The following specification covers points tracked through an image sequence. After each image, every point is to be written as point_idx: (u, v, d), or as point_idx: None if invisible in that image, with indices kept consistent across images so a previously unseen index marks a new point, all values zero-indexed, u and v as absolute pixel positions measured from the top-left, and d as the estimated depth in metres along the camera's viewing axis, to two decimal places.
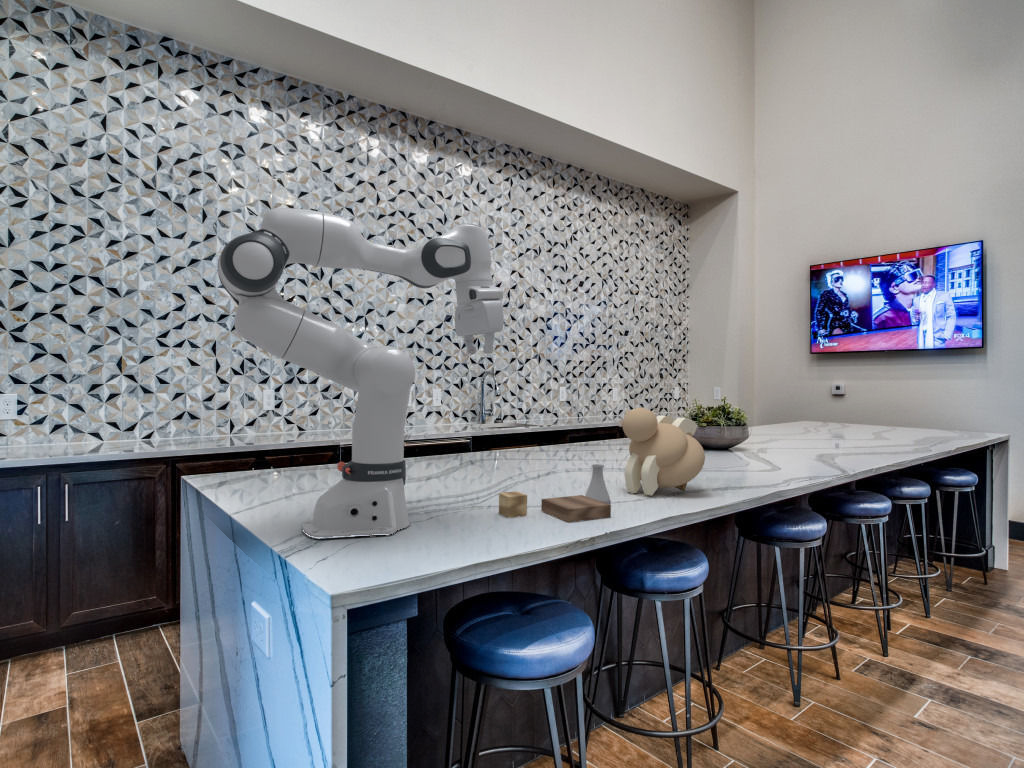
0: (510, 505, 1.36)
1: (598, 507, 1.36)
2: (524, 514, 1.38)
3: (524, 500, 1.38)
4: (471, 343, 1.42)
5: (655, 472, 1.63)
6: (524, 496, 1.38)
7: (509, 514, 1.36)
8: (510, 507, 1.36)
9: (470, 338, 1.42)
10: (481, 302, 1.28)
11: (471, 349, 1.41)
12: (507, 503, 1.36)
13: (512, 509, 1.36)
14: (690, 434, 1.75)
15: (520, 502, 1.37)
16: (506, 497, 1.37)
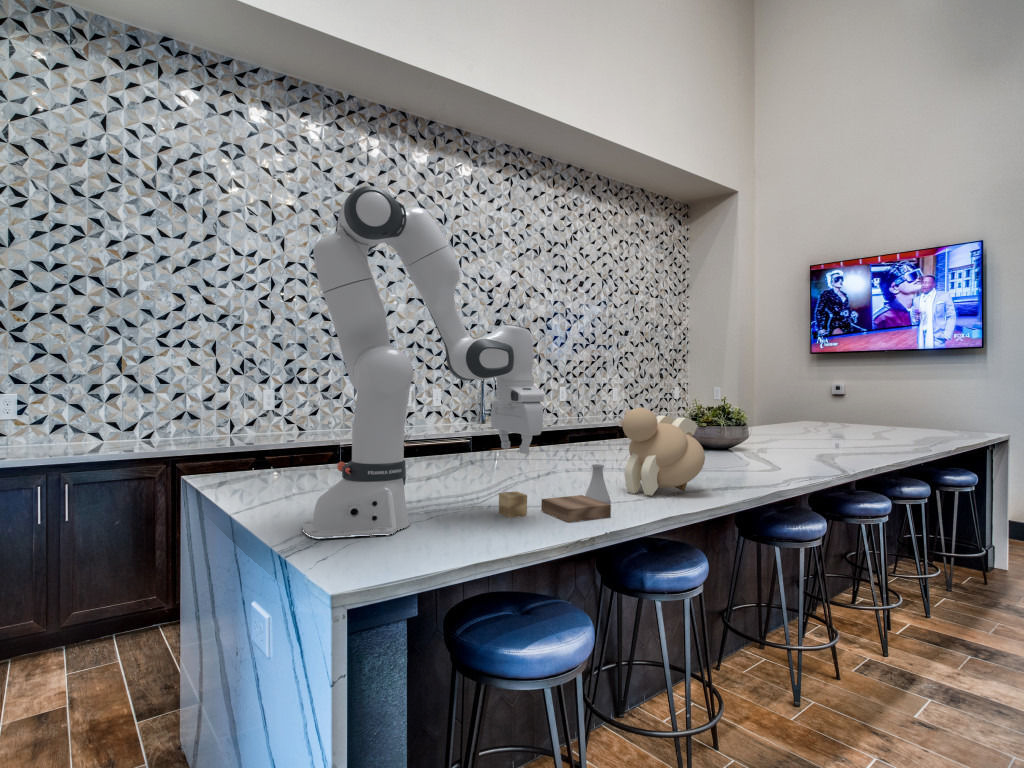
0: (510, 505, 1.36)
1: (598, 507, 1.36)
2: (524, 514, 1.38)
3: (524, 500, 1.38)
4: (506, 437, 1.44)
5: (655, 472, 1.63)
6: (524, 496, 1.38)
7: (509, 514, 1.36)
8: (510, 507, 1.36)
9: (505, 432, 1.44)
10: (522, 405, 1.30)
11: (506, 444, 1.43)
12: (507, 503, 1.36)
13: (512, 509, 1.36)
14: (690, 434, 1.75)
15: (520, 502, 1.37)
16: (506, 497, 1.37)
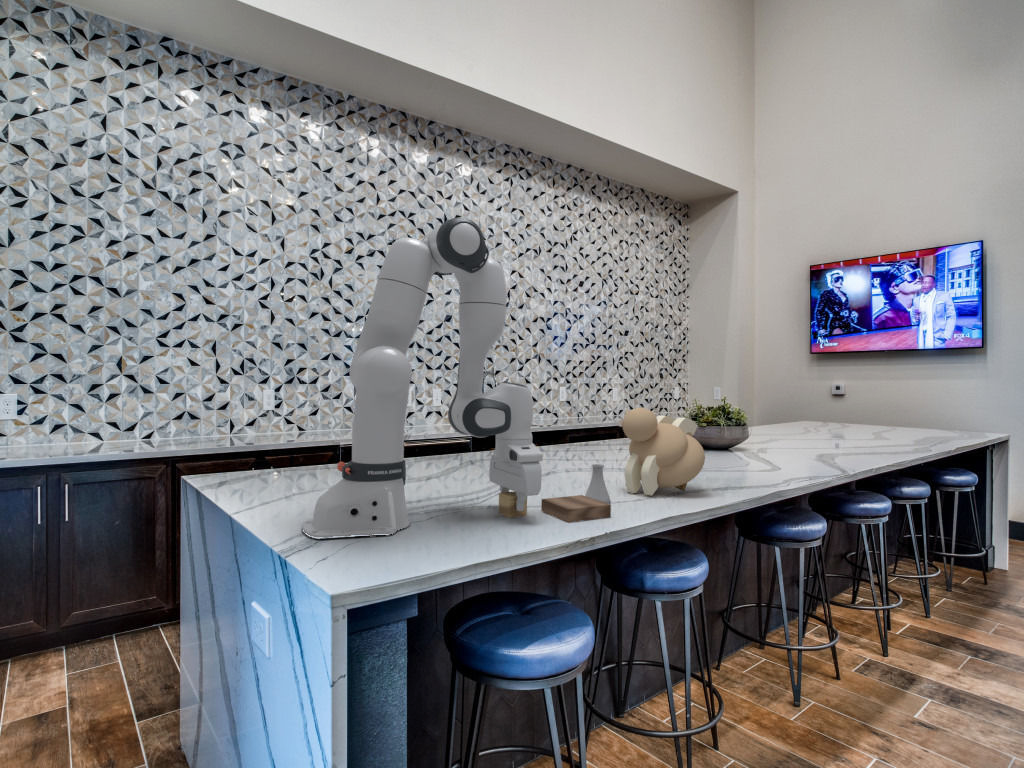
0: (510, 505, 1.36)
1: (598, 507, 1.36)
2: (524, 514, 1.38)
3: None
4: None
5: (655, 472, 1.63)
6: None
7: (509, 514, 1.36)
8: (510, 506, 1.36)
9: (506, 488, 1.43)
10: (521, 466, 1.31)
11: None
12: (507, 503, 1.36)
13: (512, 509, 1.36)
14: (690, 434, 1.75)
15: None
16: (506, 497, 1.37)
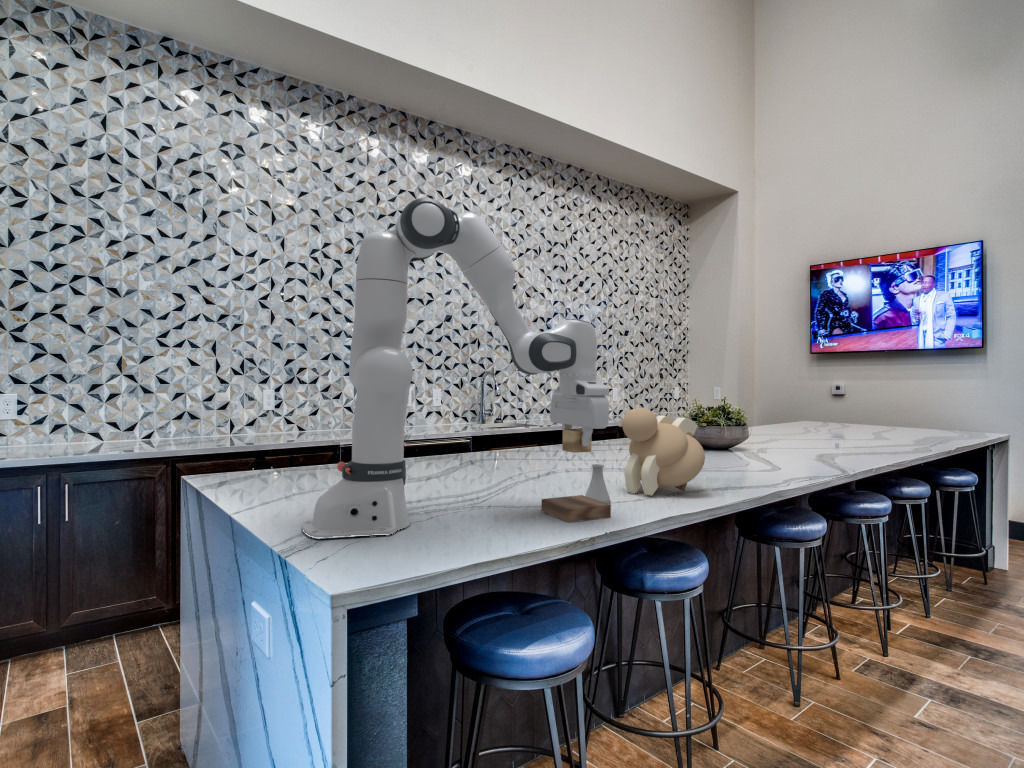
0: (576, 439, 1.37)
1: (598, 507, 1.36)
2: (589, 450, 1.39)
3: None
4: None
5: (655, 472, 1.63)
6: None
7: (574, 449, 1.37)
8: (575, 441, 1.37)
9: (569, 427, 1.44)
10: (589, 399, 1.32)
11: None
12: (573, 438, 1.37)
13: (577, 444, 1.37)
14: (690, 434, 1.75)
15: None
16: (571, 432, 1.38)
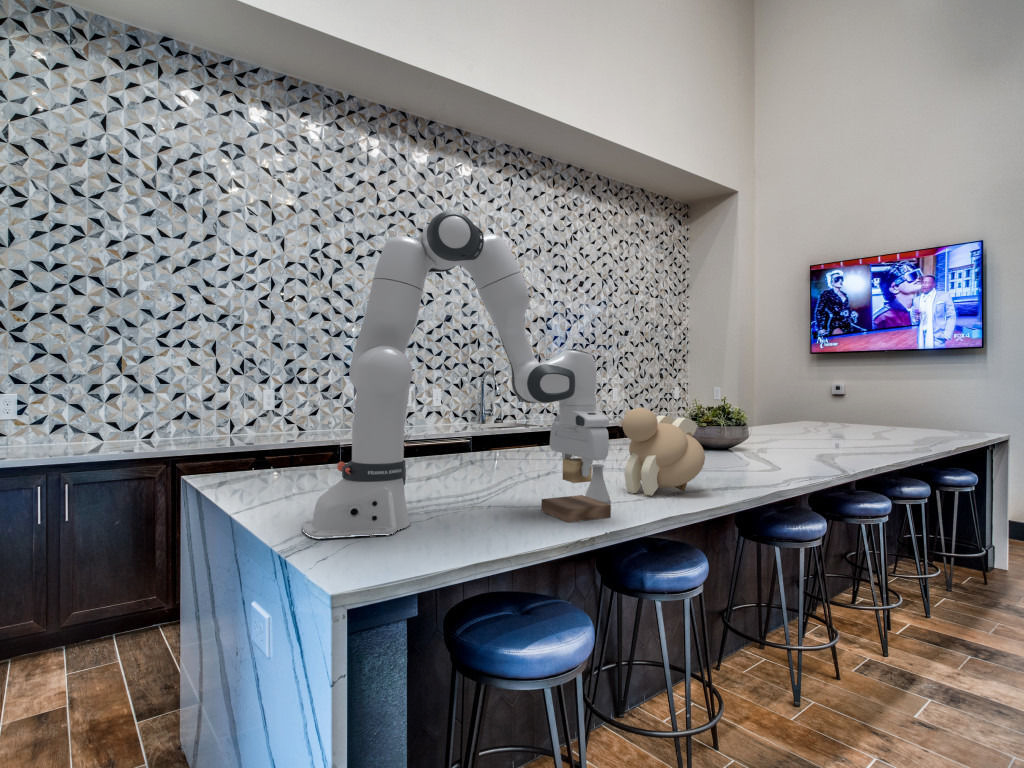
0: (576, 470, 1.37)
1: (598, 507, 1.36)
2: (589, 479, 1.39)
3: None
4: None
5: (655, 472, 1.63)
6: None
7: (574, 479, 1.37)
8: (575, 472, 1.37)
9: (569, 456, 1.44)
10: (589, 430, 1.32)
11: None
12: (573, 468, 1.38)
13: (577, 474, 1.38)
14: (690, 434, 1.75)
15: None
16: (571, 462, 1.38)
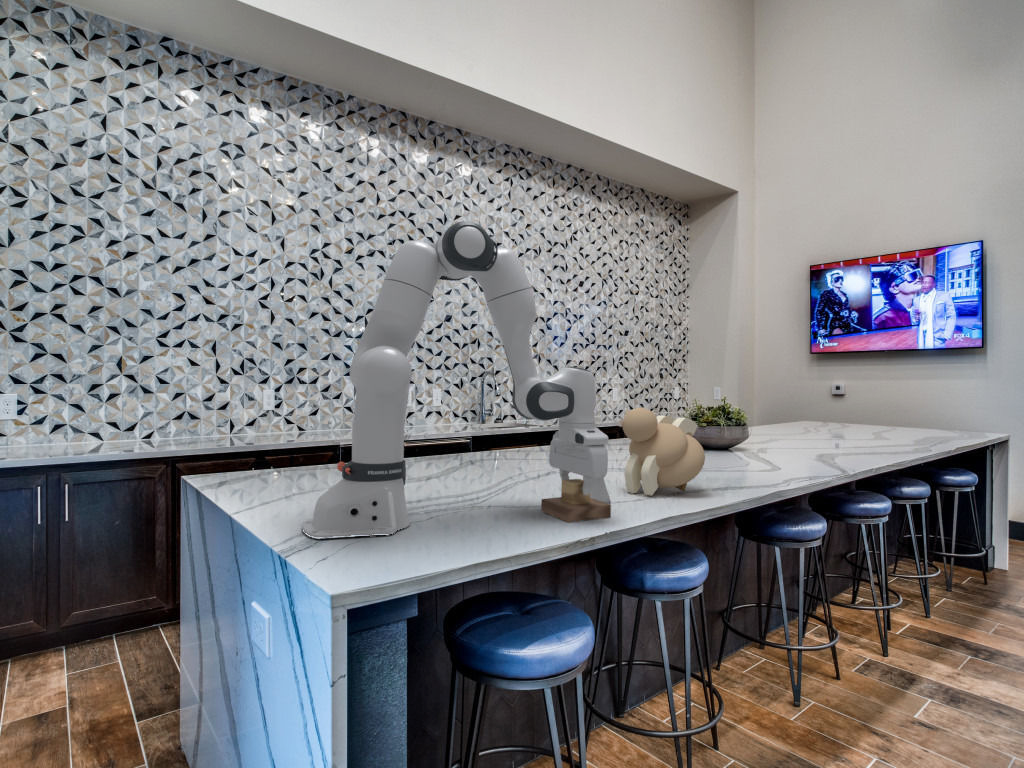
0: (575, 491, 1.37)
1: (598, 507, 1.36)
2: (587, 501, 1.39)
3: None
4: (566, 477, 1.45)
5: (655, 472, 1.63)
6: None
7: (573, 501, 1.37)
8: (574, 493, 1.37)
9: (566, 472, 1.44)
10: (588, 448, 1.32)
11: None
12: (571, 490, 1.38)
13: (576, 496, 1.38)
14: (690, 434, 1.75)
15: None
16: (570, 484, 1.38)
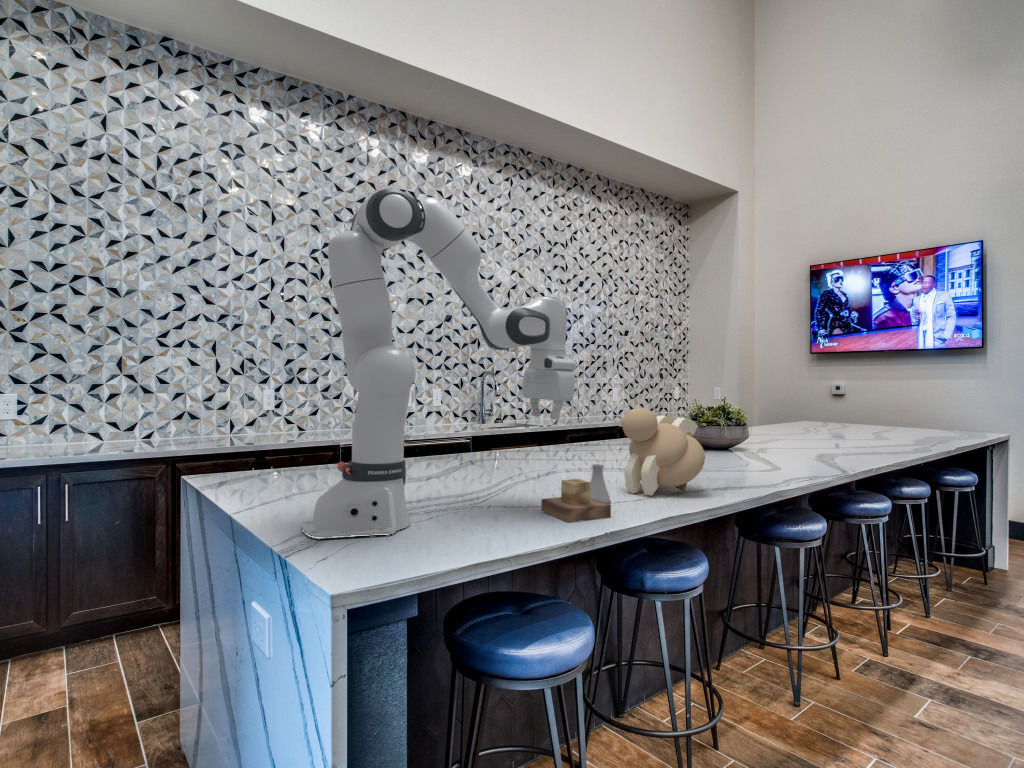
0: (575, 491, 1.37)
1: (598, 507, 1.36)
2: (587, 501, 1.39)
3: (588, 487, 1.39)
4: (536, 406, 1.50)
5: (655, 472, 1.63)
6: (587, 483, 1.39)
7: (573, 501, 1.37)
8: (574, 493, 1.37)
9: (536, 401, 1.50)
10: (556, 372, 1.37)
11: (536, 412, 1.49)
12: (571, 490, 1.38)
13: (576, 496, 1.38)
14: (690, 434, 1.75)
15: (584, 489, 1.39)
16: (570, 484, 1.38)
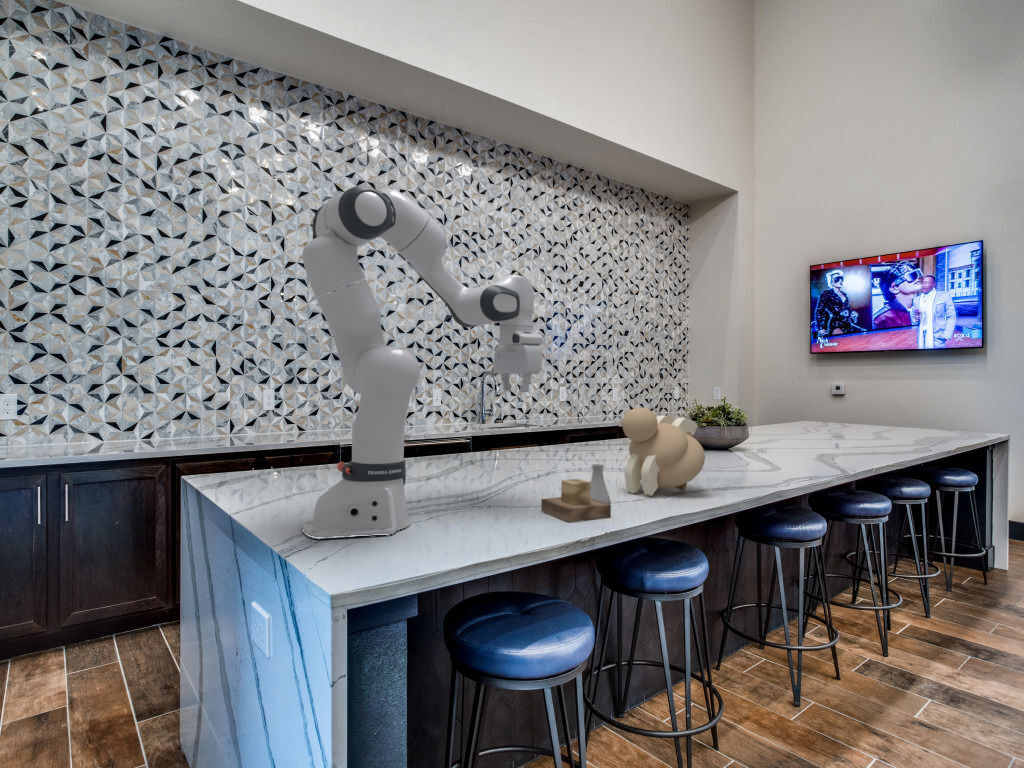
0: (575, 491, 1.37)
1: (598, 507, 1.36)
2: (587, 501, 1.39)
3: (588, 487, 1.39)
4: (507, 381, 1.56)
5: (655, 472, 1.63)
6: (587, 483, 1.39)
7: (573, 501, 1.37)
8: (574, 493, 1.37)
9: (507, 376, 1.56)
10: (523, 346, 1.43)
11: (507, 386, 1.55)
12: (571, 490, 1.38)
13: (576, 496, 1.38)
14: (690, 434, 1.75)
15: (584, 489, 1.39)
16: (570, 484, 1.38)
